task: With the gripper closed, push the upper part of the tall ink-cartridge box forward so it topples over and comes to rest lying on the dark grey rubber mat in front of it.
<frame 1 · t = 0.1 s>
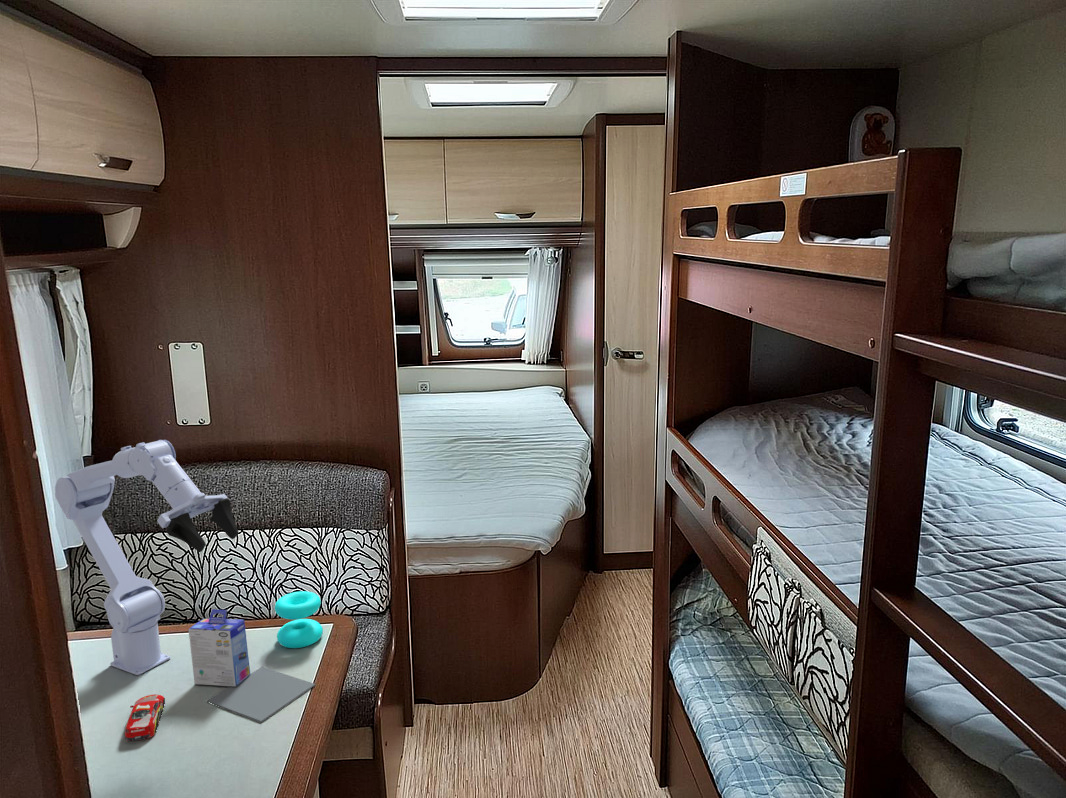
hand: (219, 542, 144), 32 cm above the table, tool tilted 50°, fingers open, 7 cm apart
race car: (146, 724, 141), on the table
donuts: (300, 640, 171), on the table
ink cartridge box: (223, 680, 154), on the table, touching mat
mat: (261, 693, 149), on the table
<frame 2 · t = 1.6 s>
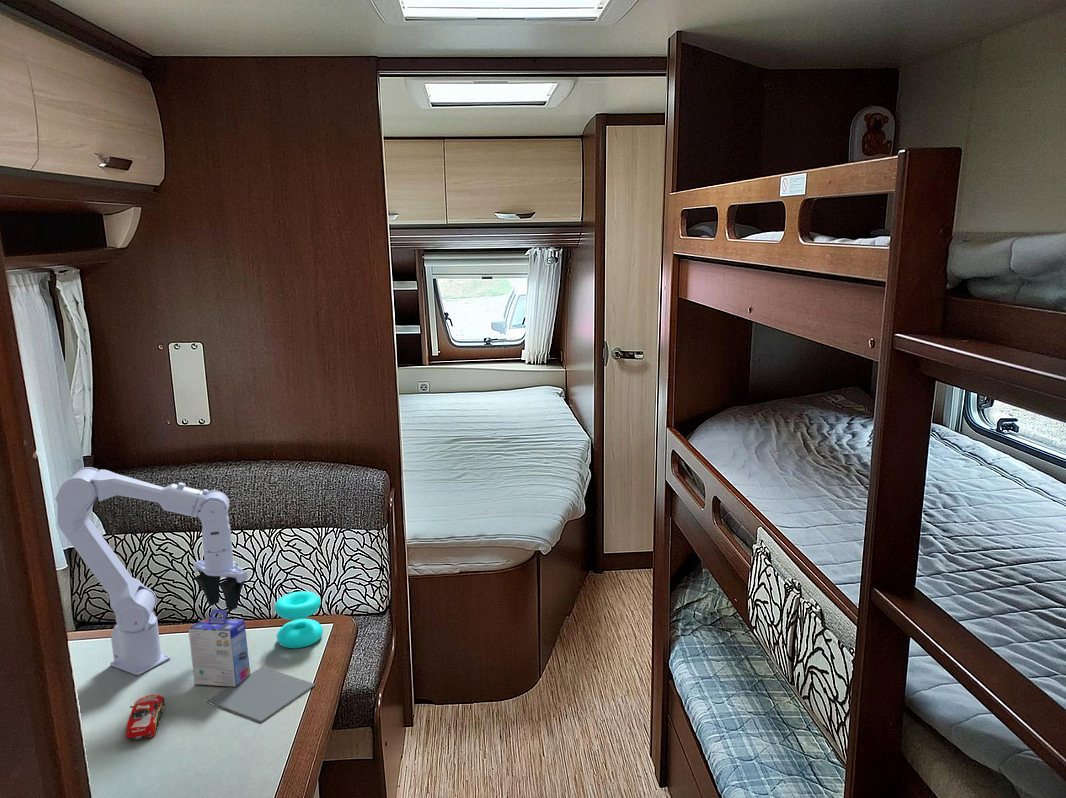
hand: (223, 606, 165), 10 cm above the table, tool pointing down, fingers open, 5 cm apart
nothing on the table moved.
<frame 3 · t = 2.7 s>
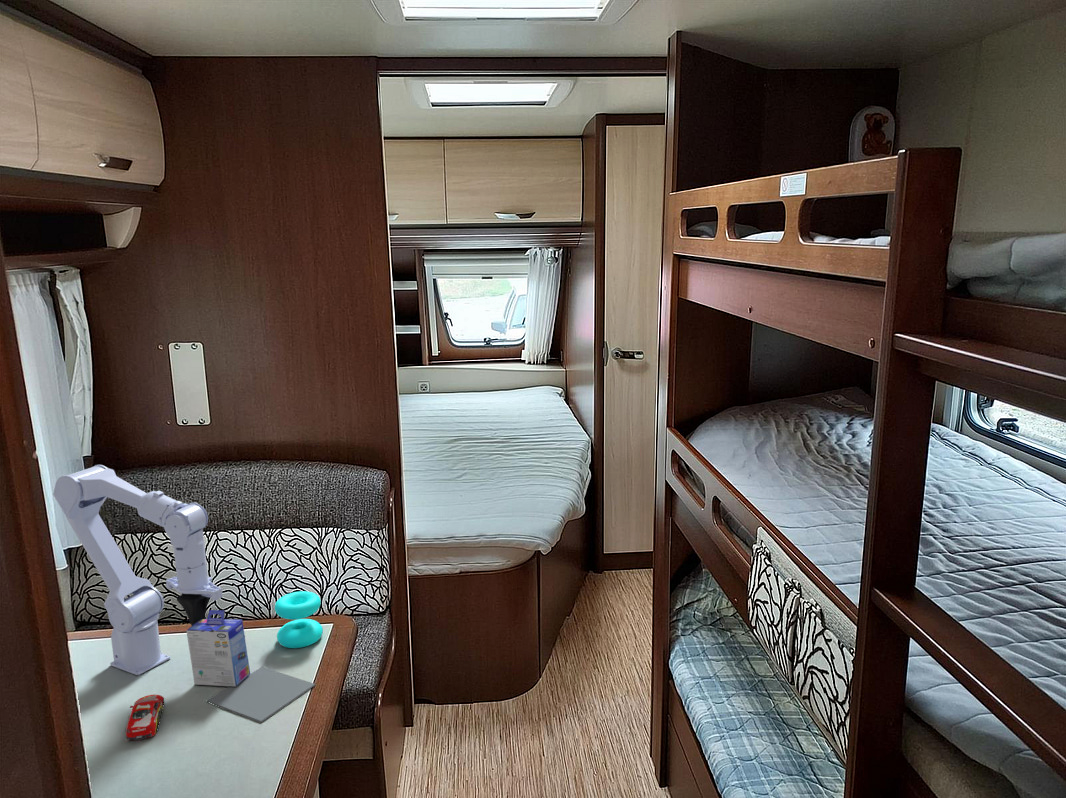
hand: (198, 625, 156), 10 cm above the table, tool pointing down, fingers closed
ink cartridge box: (223, 679, 154), on the table, touching gripper, mat
everything else where it was.
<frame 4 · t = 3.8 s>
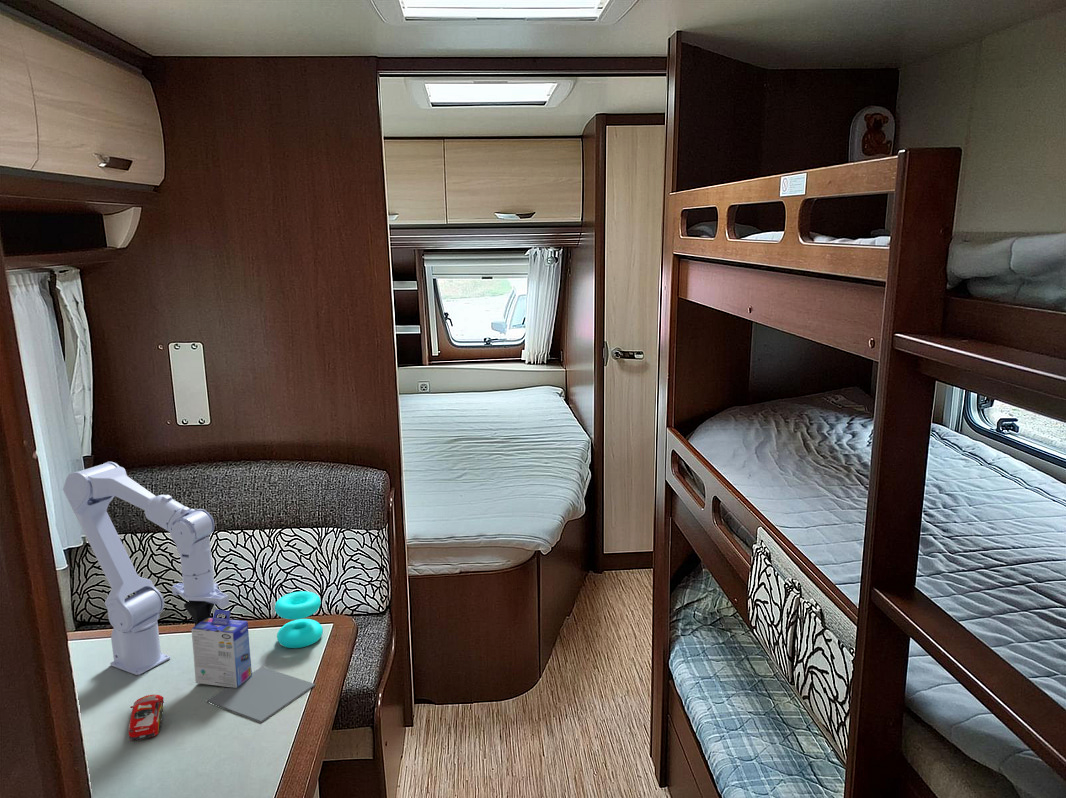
hand: (204, 632, 155), 9 cm above the table, tool pointing down, fingers closed, pressing on ink cartridge box
ink cartridge box: (224, 680, 154), on the table, touching gripper, mat
everything else where it was.
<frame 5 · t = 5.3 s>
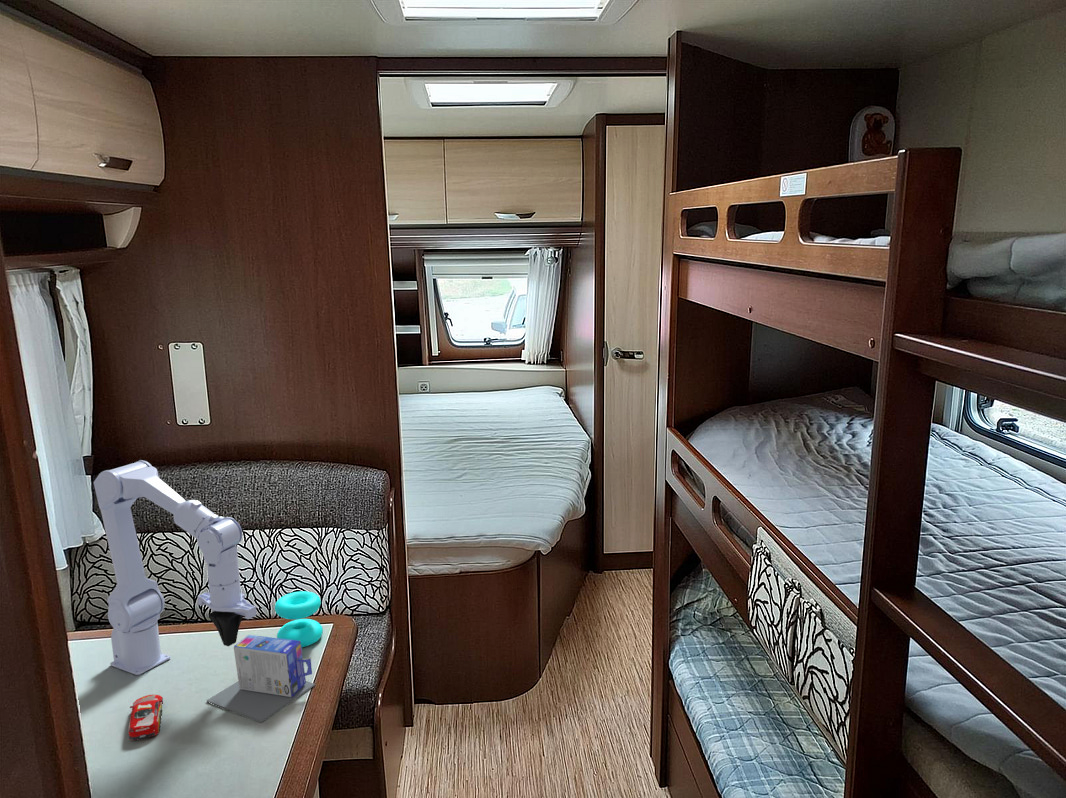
hand: (230, 643, 152), 9 cm above the table, tool pointing down, fingers closed
ink cartridge box: (243, 660, 152), point 5 cm above the table, touching mat
everything else where it was.
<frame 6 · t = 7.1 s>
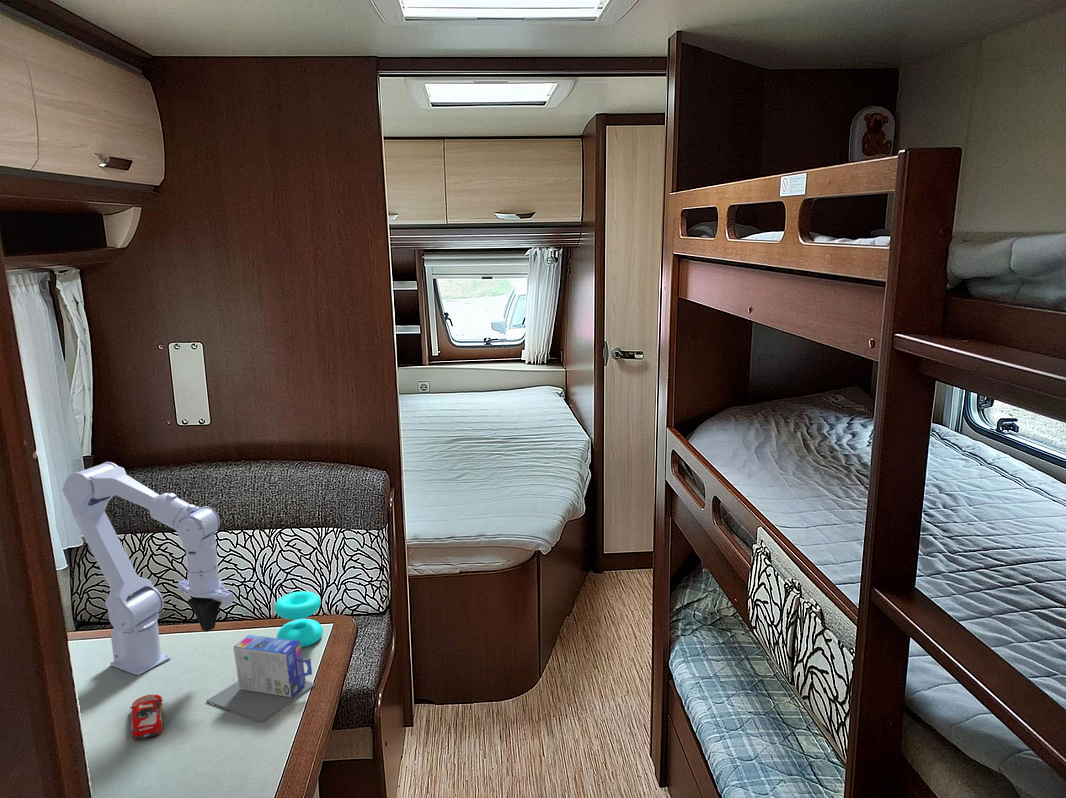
hand: (208, 629, 156), 10 cm above the table, tool pointing down, fingers closed
nothing on the table moved.
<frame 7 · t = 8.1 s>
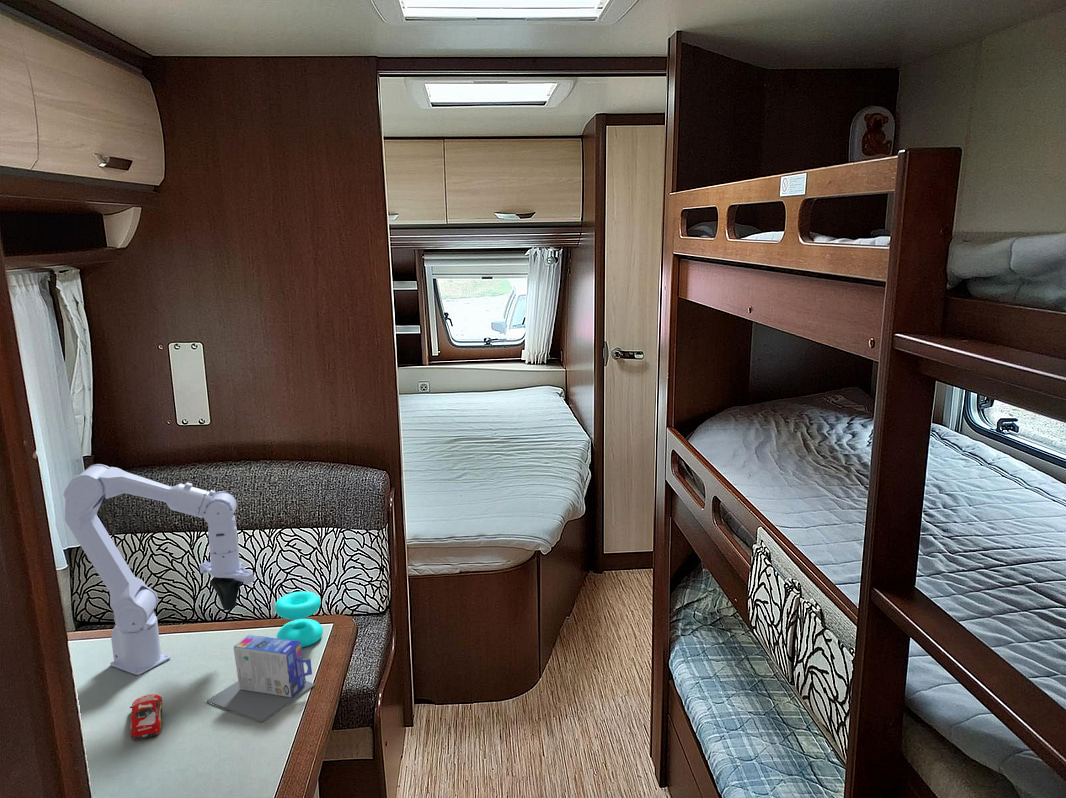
hand: (229, 608, 164), 10 cm above the table, tool pointing down, fingers closed
nothing on the table moved.
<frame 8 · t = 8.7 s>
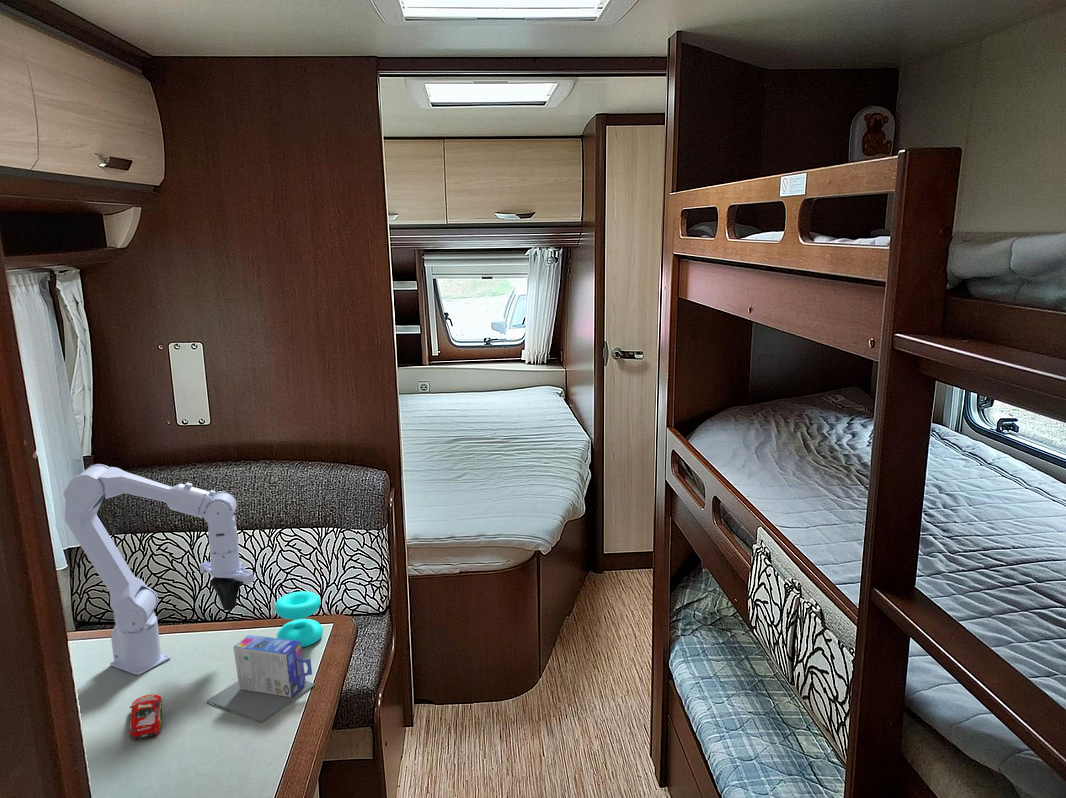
hand: (229, 608, 164), 10 cm above the table, tool pointing down, fingers closed
nothing on the table moved.
at the end: ink cartridge box tilted 90°; ink cartridge box moved 7.7 cm from its start; ink cartridge box 5.5 cm from the mat (horizontally) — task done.
